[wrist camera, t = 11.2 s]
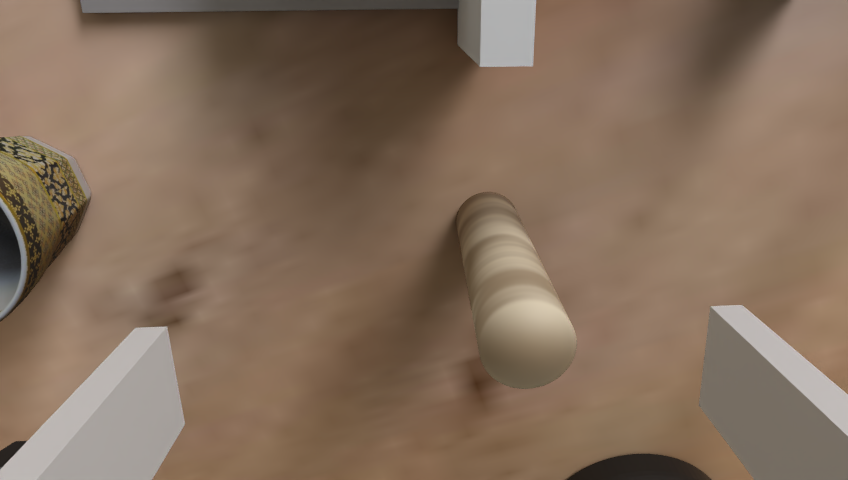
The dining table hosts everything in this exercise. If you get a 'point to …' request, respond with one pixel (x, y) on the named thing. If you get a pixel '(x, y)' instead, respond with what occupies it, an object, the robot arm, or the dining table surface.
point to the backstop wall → (477, 8)
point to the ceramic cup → (35, 213)
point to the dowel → (511, 297)
